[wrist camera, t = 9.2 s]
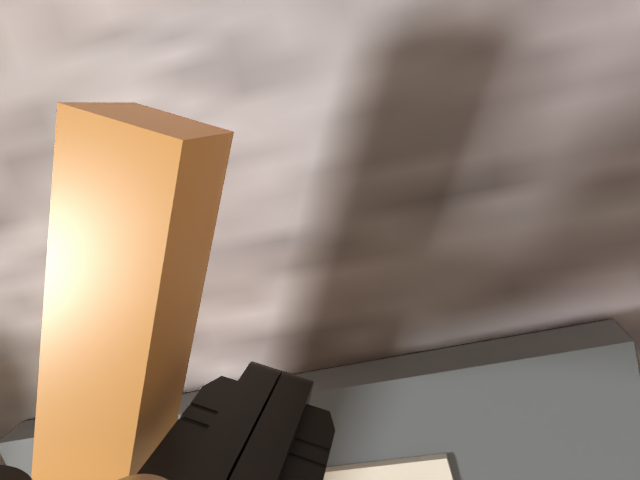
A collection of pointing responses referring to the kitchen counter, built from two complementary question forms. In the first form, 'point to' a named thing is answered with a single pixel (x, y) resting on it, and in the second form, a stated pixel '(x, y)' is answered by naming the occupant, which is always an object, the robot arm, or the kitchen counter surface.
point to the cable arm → (121, 283)
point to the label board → (474, 411)
